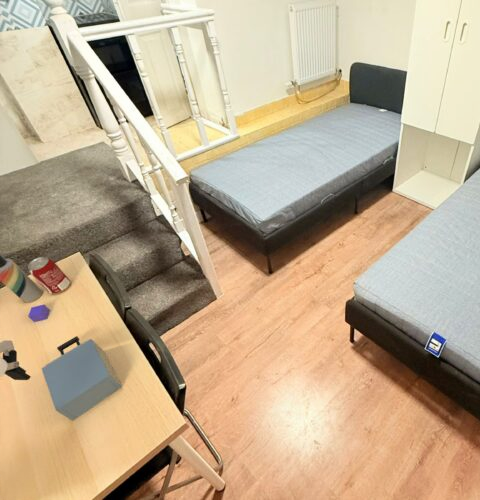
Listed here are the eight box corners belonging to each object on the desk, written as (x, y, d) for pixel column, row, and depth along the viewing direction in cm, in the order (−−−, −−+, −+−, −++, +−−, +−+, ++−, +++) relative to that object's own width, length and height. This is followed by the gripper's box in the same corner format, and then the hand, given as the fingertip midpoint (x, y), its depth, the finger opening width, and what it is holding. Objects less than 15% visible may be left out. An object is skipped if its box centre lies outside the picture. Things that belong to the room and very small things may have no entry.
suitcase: (61, 383, 89) (41, 368, 82) (107, 354, 94) (91, 338, 88) (77, 423, 81) (55, 410, 75) (125, 390, 87) (109, 375, 80)
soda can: (76, 283, 113) (55, 258, 105) (57, 297, 109) (34, 273, 101) (62, 277, 116) (41, 252, 107) (44, 291, 111) (20, 267, 103)
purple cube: (34, 322, 103) (27, 316, 101) (37, 312, 105) (31, 307, 103) (47, 318, 103) (41, 313, 101) (50, 309, 106) (44, 304, 104)
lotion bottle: (21, 295, 110) (-25, 253, 96) (41, 286, 113) (-1, 243, 99) (24, 306, 107) (-23, 263, 93) (44, 296, 110) (1, 254, 96)
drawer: (55, 361, 92) (39, 348, 87) (95, 337, 97) (82, 324, 92) (74, 413, 82) (58, 402, 77) (118, 383, 87) (105, 371, 82)
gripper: (-49, 313, 58) (18, 360, 70) (-152, 419, 46) (-50, 454, 58) (-8, 314, 58) (52, 360, 70) (-101, 421, 45) (-9, 455, 57)
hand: (6, 403), depth 64 cm, fingers open, 9 cm apart
